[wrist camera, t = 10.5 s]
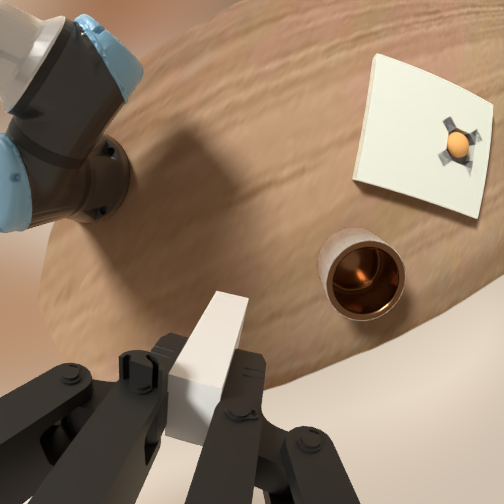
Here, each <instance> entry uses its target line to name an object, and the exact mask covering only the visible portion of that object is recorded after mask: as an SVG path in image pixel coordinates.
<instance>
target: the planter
mask: <svg viewBox="0 0 504 504" xmlns="http://www.w3.org/2000/svg"><path fill="white" fill-rule="evenodd" d="M318 273H319V277H320V279H321V282H322V284H323V287H324V289H325V292H326V295H327V298H328V300H329V302H330V304H331V305H332V307H333V308H334V309H335V310H336V311H337V312H338V313H339V314H340V315H342V316H344V317H346V318H348V319H351V320H355V321H368V320H373V319H376V318H378V317H380V316H382V315H384V314H386V313H387V312H388V311H390V310H391V309H392V308H393V307H394V306H395V304H396V303H397V302H398V300H399V299H400V297H401V295H402V293H403V290H404V287H405V282H406V271H405V266H404V263H403V260H402V258H401V257H400V255H399V254H398V252H397V251H396V250H395V249H394V248H393V247H391V246H390V245H389V244H387V243H386V242H384V241H383V240H382V239H380V238H379V237H378V236H376V235H375V234H373V233H372V232H370V231H368V230H366V229H362V228H346V229H343V230H340V231H338V232H336V233H334V234H333V235H332V236H330V237H329V238H328V239H327V241H326V242H325V243H324V245H323V246H322V248H321V250H320V253H319V257H318Z"/></svg>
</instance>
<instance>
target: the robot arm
mask: <svg viewBox="0 0 504 504" xmlns="http://www.w3.org/2000/svg"><path fill="white" fill-rule="evenodd" d="M142 78H143V67H142V65H141V63H140V62H139V61H138V59H137V58H136V57H135V56H134V55H133V54H132V53H131V52H130V51H129V50H128V49H127V48H126V47H125V46H124V45H123V44H122V43H121V42H120V41H119V40H118V39H117V38H116V37H115V36H114V35H112V34H111V33H110V32H109V31H108V30H106V29H105V28H104V27H103V26H101V25H100V24H99V23H98V22H97V21H96V20H94V19H93V18H91V17H90V16H88V15H86V14H82V15H80V16H79V17H77V18H75V20H74V22H72V21H70V20H69V19H67V18H65V17H64V16H58V17H55V18H52V19H48V20H43V21H41V20H39V19H37V18H35V17H34V16H32V15H30V14H28V13H26V12H24V11H22V10H20V9H18V8H16V7H14V6H12V5H10V4H8V3H6V2H4V1H2V0H0V100H1V103H2V107H3V110H4V111H5V112H7V113H9V114H12V115H14V116H13V118H12V119H11V122H10V123H9V125H8V128H7V130H6V132H5V133H4V134H3V133H0V232H1V233H8V232H13V231H24V230H26V229H29V228H32V227H36V226H39V225H42V224H46V223H49V222H53V221H57V220H60V219H64V218H67V219H71V220H74V221H78V222H82V223H93V222H97V221H100V220H103V219H106V218H108V217H109V216H111V215H112V214H113V213H114V212H115V211H116V210H117V209H118V208H119V207H120V205H121V204H122V202H123V200H124V198H125V196H126V193H127V190H128V186H129V177H130V172H129V164H128V160H127V157H126V154H125V152H124V150H123V148H122V147H121V145H120V144H119V143H118V142H117V141H116V140H115V139H113V138H112V137H110V136H108V135H105V134H103V133H104V131H105V130H106V128H107V127H108V126H109V124H110V123H111V121H112V120H113V119H114V117H115V116H116V114H117V113H118V112H119V110H120V109H121V108H122V106H123V105H124V104H126V103H127V102H128V98H129V97H130V95H131V94H132V92H133V91H134V90H135V88H136V87H137V86H138V84H139V83H140V82H141V80H142ZM248 300H249V298H246V297H241V296H237V295H232V294H228V293H224V292H219V291H216V293H215V294H214V296H213V298H212V300H211V301H210V303H209V305H208V306H207V308H206V310H205V312H204V313H203V315H202V317H201V318H200V320H199V322H198V324H197V325H196V327H195V329H194V330H193V332H192V334H191V336H190V337H189V338H187V337H183V336H180V335H176V334H173V333H169V334H167V335H165V336H163V337H161V338H160V339H159V341H158V342H157V343H156V345H155V346H154V347H153V349H152V350H151V352H147V351H142V350H131V351H128V352H124V353H123V354H121V355H120V356H119V378H120V379H119V380H118V381H117V382H106V381H100V380H93V379H92V376H91V373H90V371H89V370H88V369H87V368H86V367H84V366H82V365H80V364H75V363H64V364H61V365H58V366H56V367H54V368H52V369H51V370H49V371H47V372H45V373H43V374H42V375H40V376H38V377H36V378H34V379H33V380H31V381H29V382H27V383H26V384H24V385H22V386H20V387H18V388H17V389H15V390H13V391H11V392H9V393H8V394H6V395H4V396H2V397H1V398H0V504H23V503H24V502H25V501H27V500H28V499H29V498H30V497H32V496H33V497H32V498H31V499H30V501H29V502H28V504H135V502H136V500H137V498H138V495H139V493H140V491H141V489H142V486H143V484H144V482H145V480H146V477H147V475H148V473H149V470H150V469H151V466H152V464H153V462H154V460H155V457H156V455H157V453H158V451H159V448H160V444H161V435H162V433H163V431H164V429H165V435H166V436H169V437H172V438H175V439H179V440H182V441H186V442H189V443H193V444H197V445H200V446H203V448H202V451H201V454H200V457H199V460H198V463H197V467H196V470H195V473H194V476H193V480H192V482H191V485H190V489H189V492H188V495H187V498H186V501H185V504H252V497H253V489H254V486H255V487H258V488H260V489H262V490H263V494H264V498H265V503H266V504H360V502H359V500H358V497H357V495H356V493H355V491H354V488H353V486H352V484H351V482H350V480H349V477H348V475H347V473H346V471H345V469H344V466H343V464H342V462H341V460H340V457H339V455H338V453H337V451H336V449H335V447H334V444H333V442H332V441H331V439H330V438H329V436H328V435H327V434H325V433H324V432H322V431H321V430H319V429H316V428H314V427H307V426H301V427H296V428H294V429H292V430H290V431H289V432H288V431H285V430H283V429H280V428H278V427H276V426H274V425H272V424H271V423H270V422H269V421H267V420H266V418H265V417H264V416H263V414H262V411H261V403H262V395H263V387H264V378H265V369H266V362H265V360H264V358H263V356H262V354H258V353H253V352H248V351H244V350H239V349H238V346H239V341H240V337H241V332H242V328H243V323H244V318H245V314H246V309H247V304H248Z"/></svg>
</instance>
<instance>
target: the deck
mask: <svg viewBox="0 0 504 504" xmlns="http://www.w3.org/2000/svg"><path fill="white" fill-rule="evenodd" d="M492 117H493V104H491V103H489V102H487V101H486V100H484V99H482V98H480V97H478V96H477V95H475V94H473V93H471V92H469V91H467V90H465V89H463V88H461V87H459V86H457V85H455V84H453V83H451V82H449V81H447V80H444V79H442V78H440V77H438V76H436V75H433V74H431V73H429V72H426V71H424V70H421V69H419V68H416V67H414V66H411V65H409V64H406V63H404V62H401V61H398V60H395V59H393V58H390V57H387V56H384V55H381V54H378V53H377V54H376V55H375V57H374V58H373V61H372V69H371V76H370V83H369V90H368V97H367V103H366V109H365V115H364V121H363V127H362V132H361V138H360V143H359V149H358V154H357V159H356V164H355V169H354V173H353V178H352V180H356V181H359V182H363V183H367V184H370V185H374V186H377V187H381V188H384V189H388V190H391V191H394V192H398V193H401V194H404V195H407V196H410V197H414V198H417V199H420V200H423V201H426V202H429V203H432V204H435V205H438V206H441V207H444V208H447V209H449V210H452V211H455V212H458V213H461V214H463V215H466V216H469V217H472V218H476V219H478V215H479V210H480V205H481V201H482V195H483V190H484V185H485V179H486V172H487V166H488V159H489V151H490V142H491V131H492ZM453 132H459V133H462V134H463V135H464V136H465V137H466V138H467V139H468V142H469V151H468V153H467V154H466V155H465V156H463V157H460V158H458V157H454V156H452V155H451V154H450V153H449V152H448V150H447V141H448V135H449V134H451V133H453Z"/></svg>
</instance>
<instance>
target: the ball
mask: <svg viewBox="0 0 504 504" xmlns="http://www.w3.org/2000/svg"><path fill="white" fill-rule="evenodd" d="M447 150H448V152H449V153H450V154H451V155H452V156H454V157H458V158H460V157H463V156H465V155H466V154H467V153H468V151H469V142H468V139H467V138H466V137H465V136H464V135H463V134H462V133H459V132H453V133H451V134H449V135H448V141H447Z"/></svg>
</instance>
